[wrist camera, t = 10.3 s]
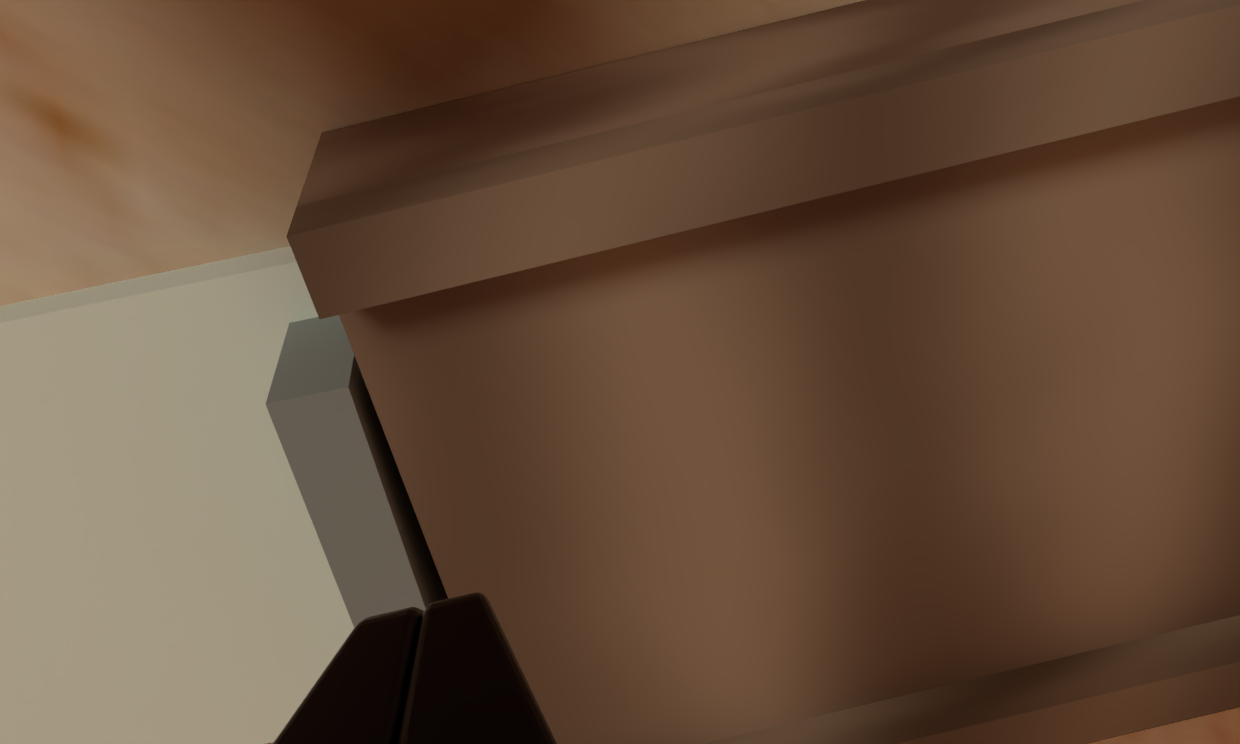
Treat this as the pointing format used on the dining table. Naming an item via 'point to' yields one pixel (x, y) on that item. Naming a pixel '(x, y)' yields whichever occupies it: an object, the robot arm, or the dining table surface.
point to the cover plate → (188, 507)
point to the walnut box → (824, 370)
